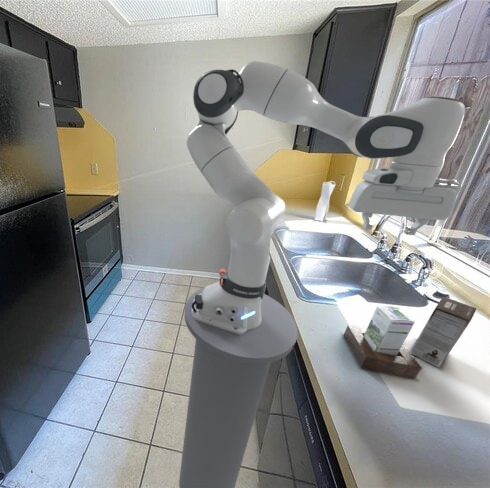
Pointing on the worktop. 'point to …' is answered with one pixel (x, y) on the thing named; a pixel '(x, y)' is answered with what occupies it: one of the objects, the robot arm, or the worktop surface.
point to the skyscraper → (324, 202)
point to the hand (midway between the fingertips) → (387, 231)
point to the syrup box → (388, 330)
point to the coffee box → (442, 331)
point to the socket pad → (380, 356)
